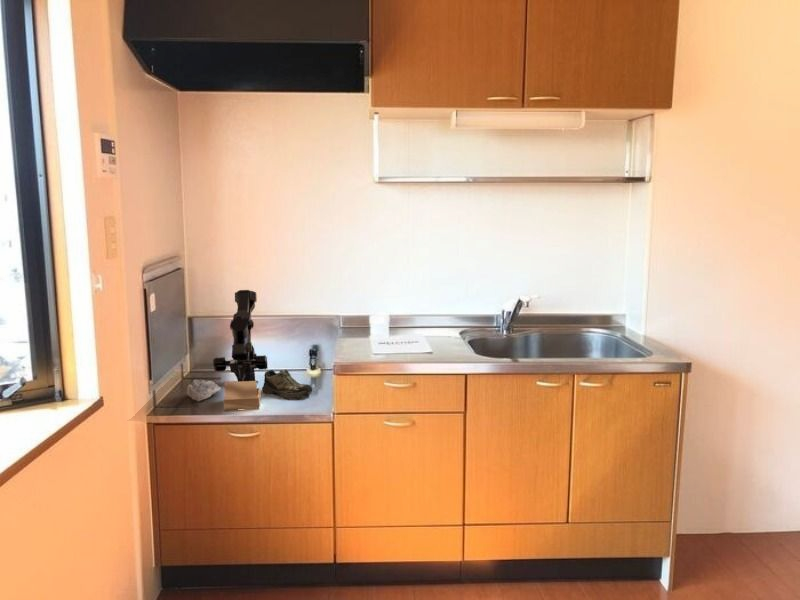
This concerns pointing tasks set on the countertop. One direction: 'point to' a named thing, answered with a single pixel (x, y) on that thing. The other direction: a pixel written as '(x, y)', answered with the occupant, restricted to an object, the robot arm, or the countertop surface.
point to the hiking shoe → (285, 385)
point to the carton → (243, 402)
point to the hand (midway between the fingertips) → (240, 384)
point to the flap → (240, 390)
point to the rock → (202, 389)
